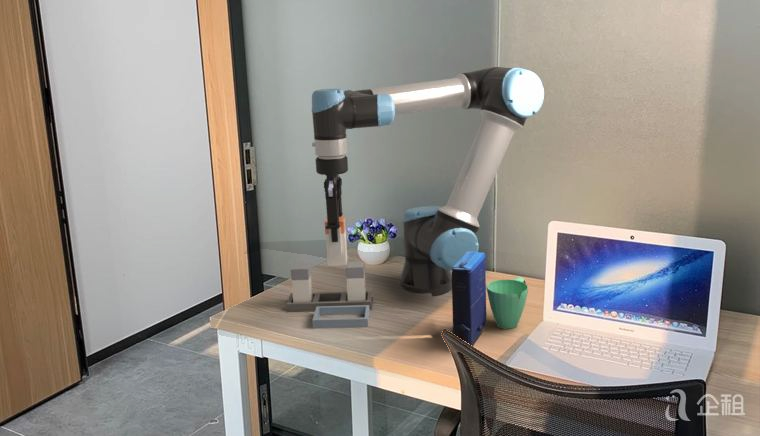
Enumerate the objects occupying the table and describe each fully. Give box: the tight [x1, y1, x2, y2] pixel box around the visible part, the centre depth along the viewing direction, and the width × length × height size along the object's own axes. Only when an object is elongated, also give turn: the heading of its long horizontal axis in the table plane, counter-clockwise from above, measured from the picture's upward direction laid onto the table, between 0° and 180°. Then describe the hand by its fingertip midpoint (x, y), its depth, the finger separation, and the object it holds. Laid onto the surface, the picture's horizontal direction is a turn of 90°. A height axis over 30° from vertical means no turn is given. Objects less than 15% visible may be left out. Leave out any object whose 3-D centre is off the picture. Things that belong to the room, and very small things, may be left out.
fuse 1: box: [290, 262, 313, 303], centre depth 181 cm, size 4×4×11 cm
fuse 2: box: [345, 261, 367, 301], centre depth 180 cm, size 4×4×11 cm
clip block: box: [285, 290, 374, 313], centre depth 182 cm, size 23×9×3 cm, turn 88°
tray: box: [311, 305, 371, 329], centre depth 172 cm, size 14×9×3 cm, turn 88°
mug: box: [486, 276, 529, 330], centre depth 168 cm, size 15×10×10 cm
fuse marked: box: [324, 216, 348, 267], centre depth 166 cm, size 4×4×11 cm
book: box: [451, 251, 487, 347], centre depth 158 cm, size 14×5×20 cm, turn 157°
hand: (337, 250), depth 167 cm, fingers closed on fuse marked, 4 cm apart
